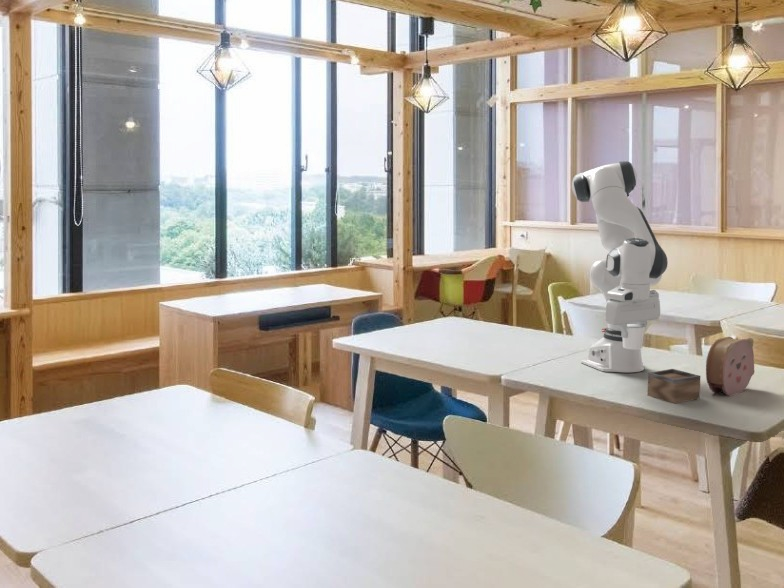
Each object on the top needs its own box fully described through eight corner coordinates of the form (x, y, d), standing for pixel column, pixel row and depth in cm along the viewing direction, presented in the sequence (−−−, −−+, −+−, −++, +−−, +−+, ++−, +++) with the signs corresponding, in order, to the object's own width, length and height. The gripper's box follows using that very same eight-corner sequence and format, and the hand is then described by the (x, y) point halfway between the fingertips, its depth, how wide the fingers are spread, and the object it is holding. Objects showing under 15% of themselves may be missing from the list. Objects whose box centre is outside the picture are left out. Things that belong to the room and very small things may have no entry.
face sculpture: (724, 399, 243) (727, 345, 240) (703, 395, 248) (705, 341, 245) (754, 387, 256) (757, 336, 253) (733, 383, 261) (736, 333, 259)
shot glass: (631, 350, 245) (632, 328, 244) (616, 346, 251) (616, 324, 250) (648, 348, 248) (649, 326, 247) (632, 344, 254) (633, 322, 253)
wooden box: (647, 395, 248) (648, 372, 247) (671, 390, 253) (672, 368, 252) (674, 403, 239) (676, 380, 238) (699, 398, 244) (700, 375, 243)
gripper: (650, 288, 255) (648, 330, 257) (602, 293, 245) (601, 337, 247) (666, 290, 249) (664, 334, 252) (618, 296, 239) (616, 341, 241)
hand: (632, 336), depth 249 cm, fingers closed on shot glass, 5 cm apart
